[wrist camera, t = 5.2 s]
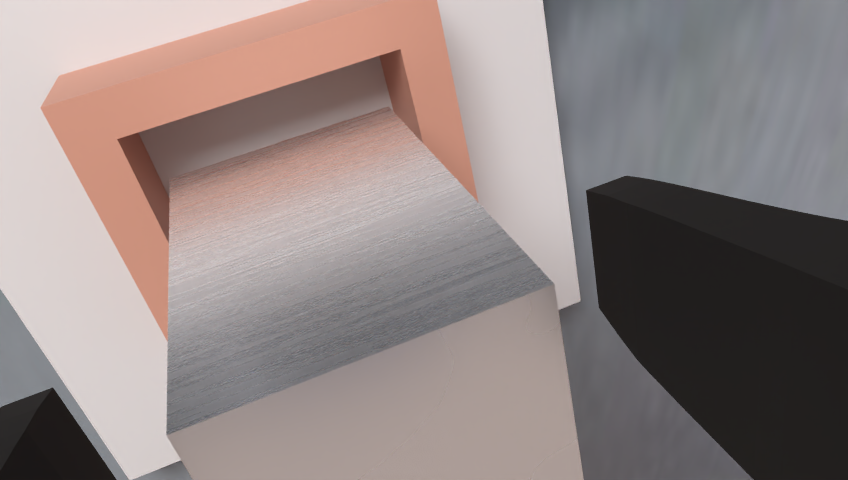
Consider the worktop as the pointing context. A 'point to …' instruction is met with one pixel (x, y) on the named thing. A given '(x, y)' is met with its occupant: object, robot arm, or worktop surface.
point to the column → (358, 321)
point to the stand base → (235, 152)
